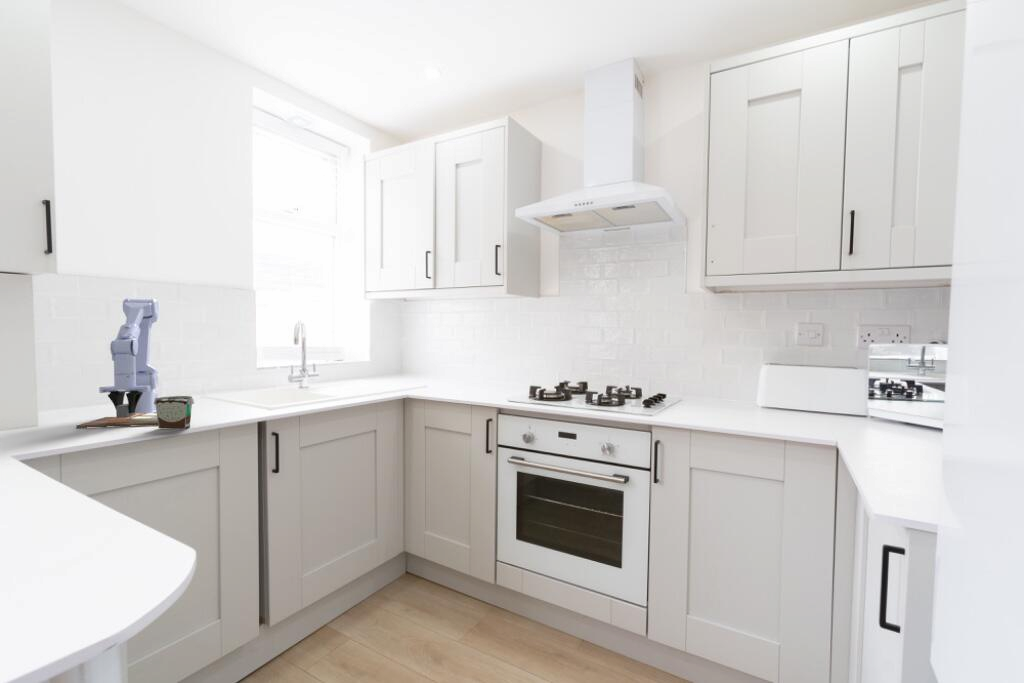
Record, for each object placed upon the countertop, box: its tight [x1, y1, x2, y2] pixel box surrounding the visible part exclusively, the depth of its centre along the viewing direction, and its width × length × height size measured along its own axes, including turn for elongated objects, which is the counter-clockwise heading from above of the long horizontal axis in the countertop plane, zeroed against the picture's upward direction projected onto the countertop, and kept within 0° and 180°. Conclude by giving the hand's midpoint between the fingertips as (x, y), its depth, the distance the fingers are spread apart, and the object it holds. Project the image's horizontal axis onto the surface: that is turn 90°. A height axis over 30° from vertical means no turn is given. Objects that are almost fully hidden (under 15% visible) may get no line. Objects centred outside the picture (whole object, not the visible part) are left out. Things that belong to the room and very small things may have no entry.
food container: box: [154, 395, 195, 430], centre depth 152 cm, size 12×6×10 cm, turn 84°
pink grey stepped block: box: [107, 403, 144, 423], centre depth 159 cm, size 10×6×5 cm, turn 11°
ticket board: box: [76, 412, 158, 429], centre depth 159 cm, size 14×25×2 cm, turn 101°
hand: (126, 413), depth 159 cm, fingers closed on pink grey stepped block, 3 cm apart
